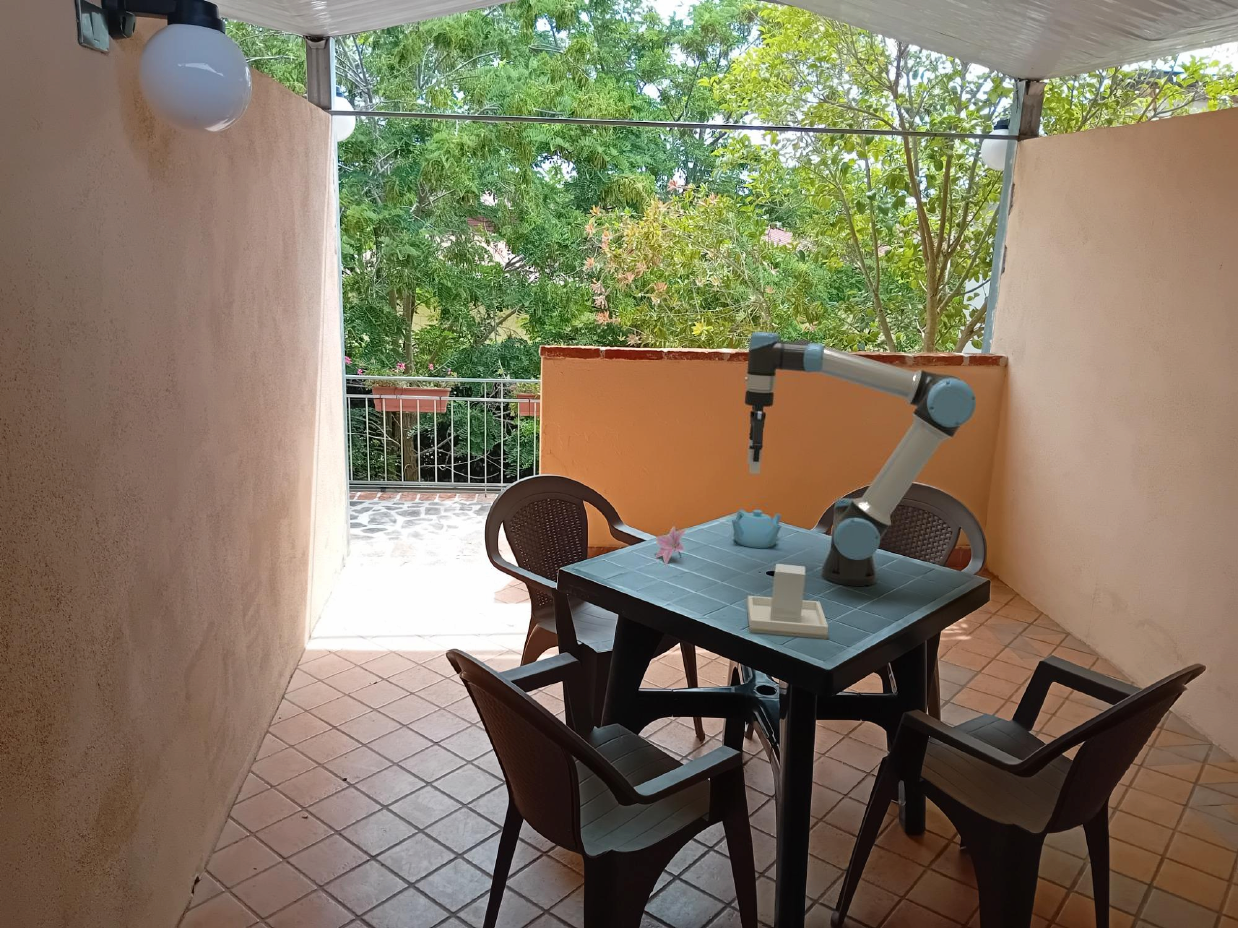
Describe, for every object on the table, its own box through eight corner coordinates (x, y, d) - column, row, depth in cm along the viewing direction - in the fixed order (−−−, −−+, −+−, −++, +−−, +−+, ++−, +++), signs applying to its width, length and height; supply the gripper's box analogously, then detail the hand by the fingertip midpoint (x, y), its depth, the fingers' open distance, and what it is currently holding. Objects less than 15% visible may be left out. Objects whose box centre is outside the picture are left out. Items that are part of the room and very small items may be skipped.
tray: (818, 612, 238) (819, 601, 237) (826, 638, 220) (828, 626, 220) (746, 606, 239) (747, 595, 239) (749, 632, 222) (750, 620, 221)
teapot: (780, 539, 306) (783, 507, 304) (778, 552, 291) (781, 518, 289) (733, 534, 309) (736, 503, 307) (729, 546, 294) (732, 513, 292)
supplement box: (800, 625, 226) (805, 574, 223) (769, 621, 227) (773, 571, 225) (801, 614, 233) (806, 566, 230) (771, 611, 234) (775, 562, 232)
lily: (655, 554, 285) (645, 530, 280) (692, 541, 284) (683, 517, 279) (661, 578, 274) (652, 553, 269) (700, 565, 274) (690, 539, 269)
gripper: (744, 384, 263) (738, 459, 267) (747, 395, 239) (740, 476, 243) (771, 386, 263) (764, 461, 267) (777, 397, 238) (770, 478, 242)
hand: (753, 468), depth 255 cm, fingers open, 13 cm apart
